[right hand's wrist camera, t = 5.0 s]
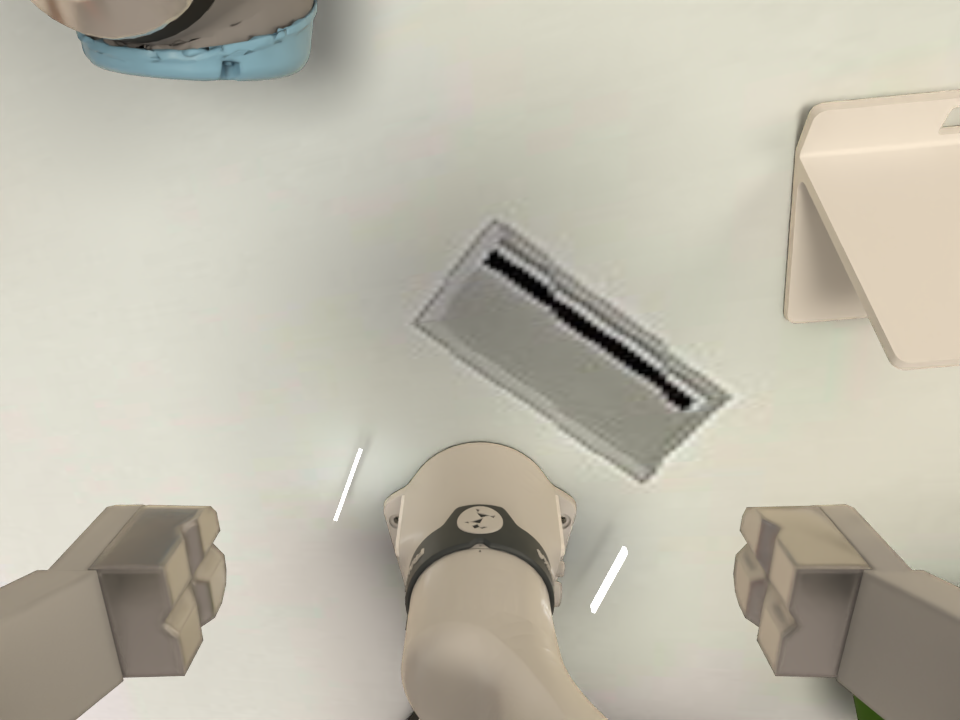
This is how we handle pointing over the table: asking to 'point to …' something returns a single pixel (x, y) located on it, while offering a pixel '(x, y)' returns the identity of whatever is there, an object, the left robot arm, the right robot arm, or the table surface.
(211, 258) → the table surface
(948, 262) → the tablet stand
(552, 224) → the table surface
